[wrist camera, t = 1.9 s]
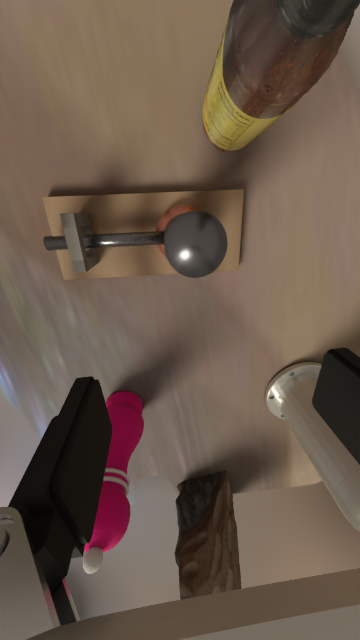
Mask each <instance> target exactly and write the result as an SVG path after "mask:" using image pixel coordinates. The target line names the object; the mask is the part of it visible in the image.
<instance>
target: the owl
mask: <svg viewBox="0 0 360 640" xmlns="http://www.w3.org/2000/svg"><path fill="white" fill-rule="evenodd" d="M177 488H178V489H179V491H180V494H179V496H178V498H177V499H176V508H177V516H178V526H179V536H178V541H177V545H176V550H175V559H176V563H177V565H178V567H179V585H180V597H181V600H183V599H188V598H194V597H199V596H205V595H210V594H216V593H222V592H227V591H233V590H238V589H241V575H240V565H239V552H238V539H237V527H236V522H235V517H234V510H233V501H232V500H233V495H232V492H231V488H230V483H229V479H228V476H227V471H223V472H219V473H215V474H210V475H207V476H204V477H198V478H195V479H193V480H186V481H183V482H181V483H180V484H178V486H177Z"/></svg>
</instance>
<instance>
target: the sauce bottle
mask: <svg viewBox="0 0 360 640" xmlns="http://www.w3.org/2000/svg"><path fill="white" fill-rule="evenodd" d="M359 4H360V0H234V1H233V4H232V6H231V10H230V13H229V17H228V20H227V23H226V26H225V30H224V33H223V36H222V40H221V43H220V46H219V49H218V52H217V56H216V60H215V63H214V67H213V70H212V74H211V77H210V80H209V84H208V87H207V90H206V94H205V97H204V102H203V114H202V115H203V125H204V131H205V134H206V135H207V137H208V139H209V140H210V141H211V143H212V144H213V145H214V146H215V147H217V148H218V149H219V150H221V151H228V152H230V151H235V150H239V149H242V148H244V147H245V146H246V145H248V144H250V143H251V142H252V141H253V140H255V139H256V138H257V137H258V136H259V135H260V134H261V133H263V132H264V131H265V130H266V129H267V128H269V127H270V126H271V125H272V124H273V123H274V122H275V121H276V120H278V119H279V118H280V117H281V116H282V115H283V114H284V113H286V112H287V111H288V110H289V109H290V108H291V107H292V106H294V105H295V104H296V103H297V102H298V101H299V99H300V98H301V97H302V96H303V95H304V94H305V93H307V92H308V91H309V90H310V88H311V87H312V86H313V85H314V84H316V83H317V81H318V80H319V79H320V78H321V77H322V75H323V74H324V73H325V71H326V70H327V69H328V68H329V66H330V64H331V62H332V61H333V59H334V58H335V56H336V54H337V52H338V49H339V47H340V45H341V43H342V41H343V39H344V37H345V34H346V32H347V29H348V27H349V25H350V23H351V20H352V18H353V16H354V10H355V9H356V8H357V7H358V5H359Z"/></svg>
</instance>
